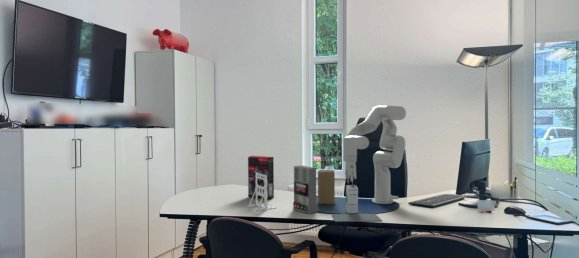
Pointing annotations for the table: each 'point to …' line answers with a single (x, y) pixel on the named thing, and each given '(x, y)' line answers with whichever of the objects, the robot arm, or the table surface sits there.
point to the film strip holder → (261, 195)
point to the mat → (355, 217)
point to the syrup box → (351, 199)
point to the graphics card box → (262, 167)
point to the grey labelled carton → (305, 189)
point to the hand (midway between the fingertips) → (350, 190)
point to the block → (326, 187)
